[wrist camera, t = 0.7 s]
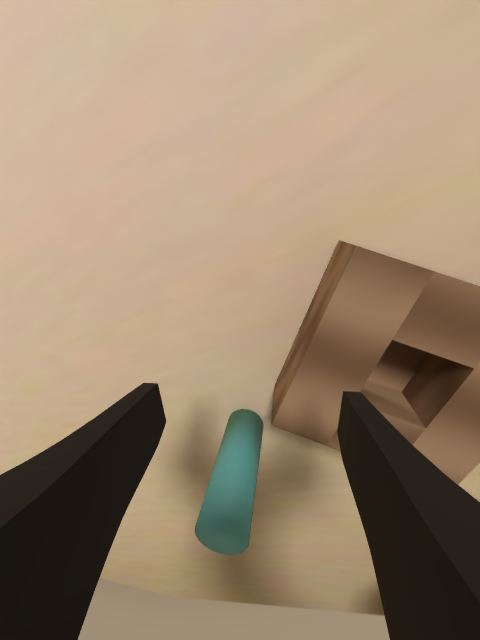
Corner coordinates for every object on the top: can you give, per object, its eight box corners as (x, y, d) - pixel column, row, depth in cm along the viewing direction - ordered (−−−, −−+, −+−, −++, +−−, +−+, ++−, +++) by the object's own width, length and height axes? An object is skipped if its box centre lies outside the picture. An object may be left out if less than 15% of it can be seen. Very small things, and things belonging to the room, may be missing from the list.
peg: (256, 442, 23) (239, 561, 15) (224, 429, 24) (189, 541, 15) (268, 417, 22) (255, 532, 14) (234, 404, 22) (201, 510, 14)
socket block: (417, 437, 20) (450, 492, 16) (275, 385, 21) (271, 424, 17) (526, 301, 16) (612, 330, 11) (339, 240, 16) (356, 245, 12)
